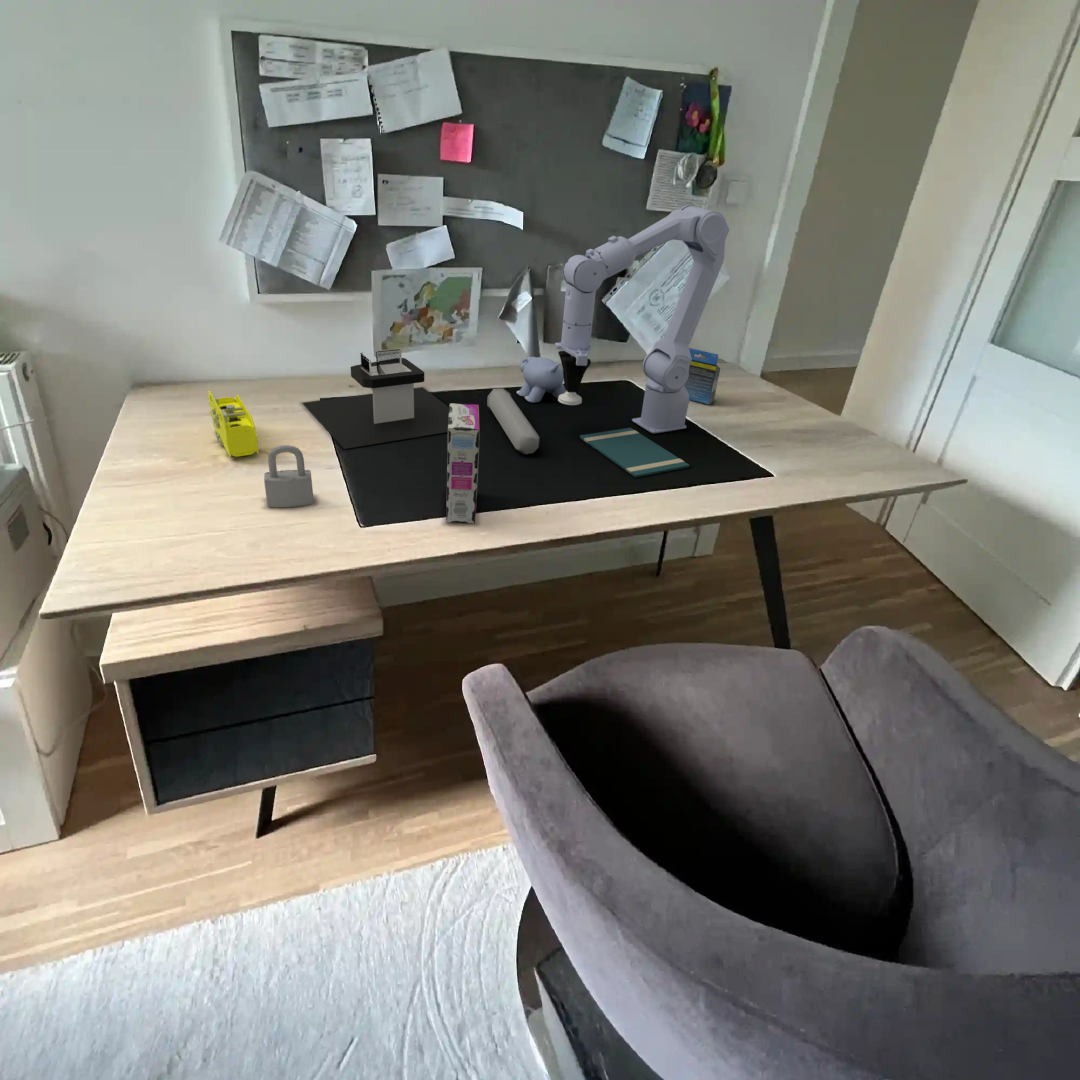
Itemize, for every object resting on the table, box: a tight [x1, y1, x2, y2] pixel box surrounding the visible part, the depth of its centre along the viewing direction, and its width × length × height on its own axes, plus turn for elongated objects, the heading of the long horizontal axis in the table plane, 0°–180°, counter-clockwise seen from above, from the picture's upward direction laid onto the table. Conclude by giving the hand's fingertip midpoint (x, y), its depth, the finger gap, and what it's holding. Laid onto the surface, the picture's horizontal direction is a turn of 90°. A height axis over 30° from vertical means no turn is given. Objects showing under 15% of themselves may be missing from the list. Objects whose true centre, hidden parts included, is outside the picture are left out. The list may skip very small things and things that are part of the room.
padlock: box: [263, 444, 315, 508], centre depth 116 cm, size 7×4×10 cm, turn 107°
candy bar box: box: [445, 403, 481, 525], centre depth 117 cm, size 11×5×16 cm, turn 5°
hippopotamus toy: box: [516, 356, 567, 403], centre depth 169 cm, size 11×15×10 cm
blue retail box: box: [684, 347, 721, 406], centre depth 173 cm, size 9×4×12 cm, turn 58°
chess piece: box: [557, 355, 583, 406], centre depth 146 cm, size 5×5×10 cm
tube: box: [486, 388, 540, 455], centre depth 149 cm, size 5×5×25 cm
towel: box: [579, 427, 690, 478], centre depth 146 cm, size 13×20×1 cm, turn 29°
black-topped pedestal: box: [302, 347, 450, 450], centre depth 150 cm, size 28×26×13 cm
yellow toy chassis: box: [207, 390, 259, 458], centre depth 134 cm, size 16×6×8 cm, turn 31°
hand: (571, 389), depth 148 cm, fingers closed on chess piece
